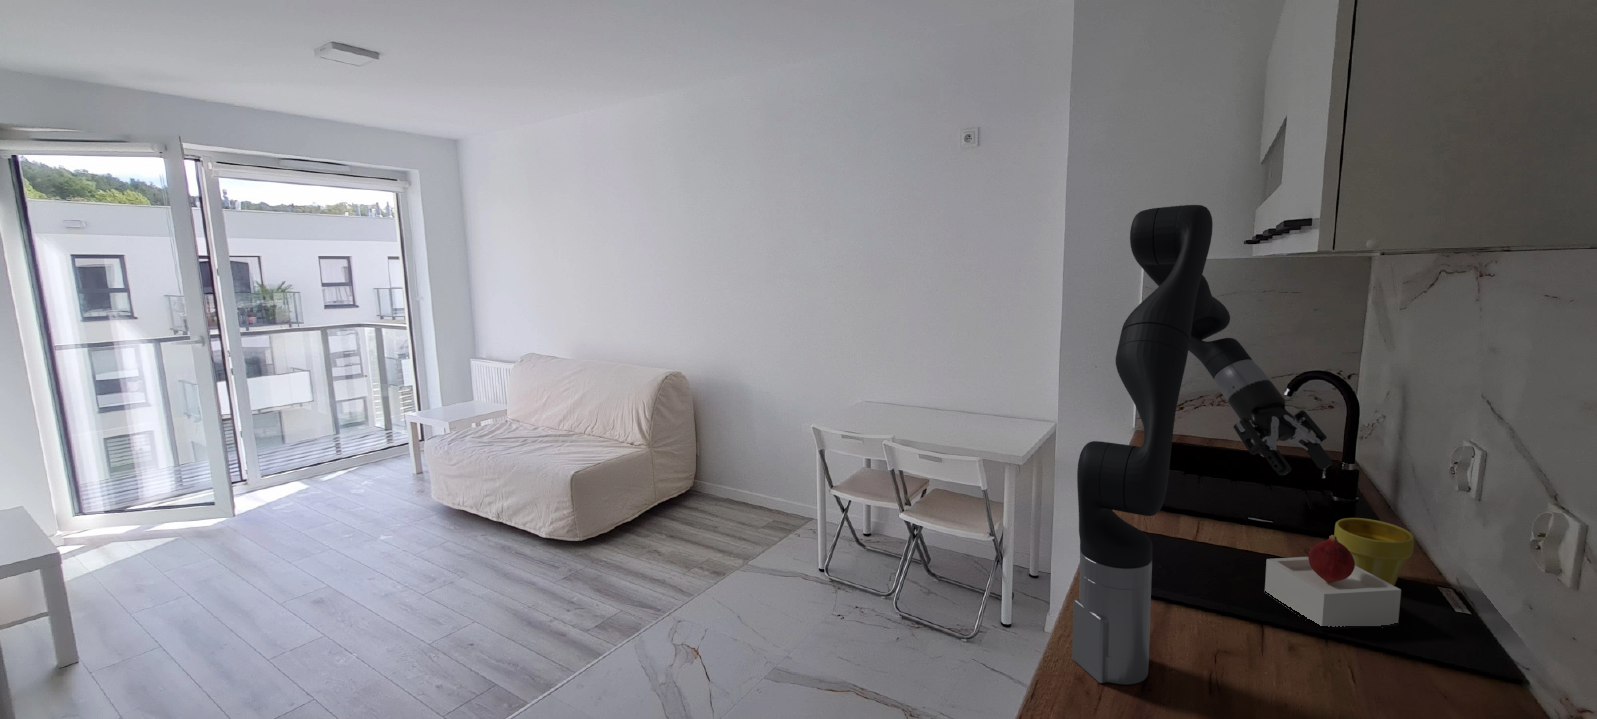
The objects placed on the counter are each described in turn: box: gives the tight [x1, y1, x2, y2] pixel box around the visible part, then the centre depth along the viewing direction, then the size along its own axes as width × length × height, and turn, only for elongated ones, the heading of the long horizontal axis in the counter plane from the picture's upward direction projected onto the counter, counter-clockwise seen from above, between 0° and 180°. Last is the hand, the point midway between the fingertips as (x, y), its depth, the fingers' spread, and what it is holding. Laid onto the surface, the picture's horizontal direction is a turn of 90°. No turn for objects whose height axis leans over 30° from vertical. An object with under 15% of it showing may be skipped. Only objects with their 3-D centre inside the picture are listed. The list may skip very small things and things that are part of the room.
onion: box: [1307, 534, 1355, 583], centre depth 105 cm, size 6×6×8 cm
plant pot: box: [1333, 517, 1415, 586], centre depth 113 cm, size 10×10×10 cm
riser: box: [1264, 556, 1402, 627], centre depth 106 cm, size 12×12×6 cm
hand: (1307, 470), depth 108 cm, fingers open, 8 cm apart
